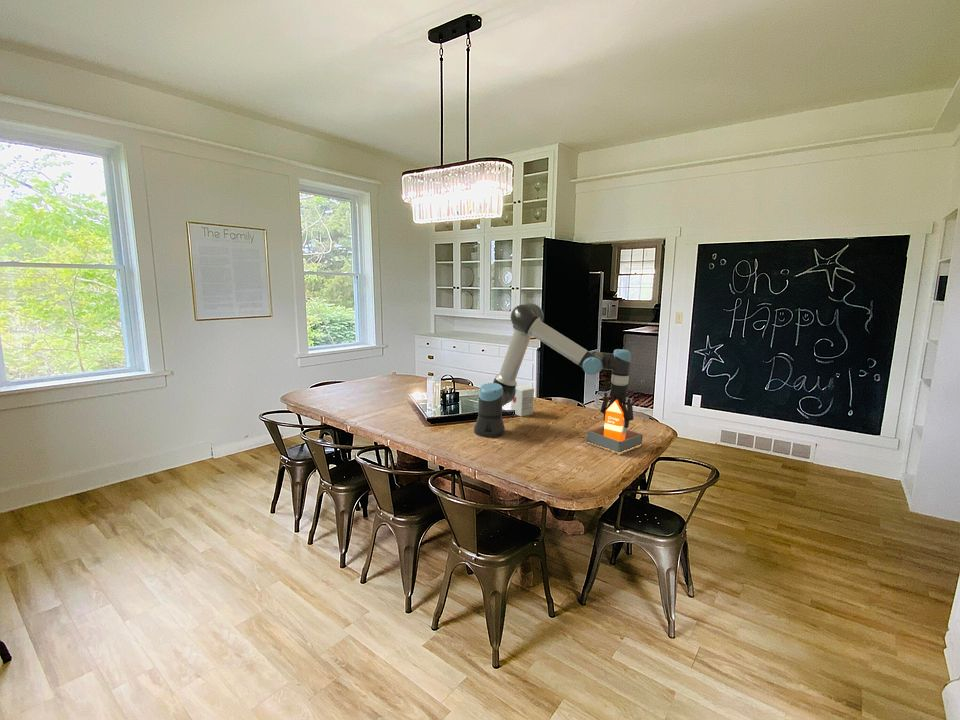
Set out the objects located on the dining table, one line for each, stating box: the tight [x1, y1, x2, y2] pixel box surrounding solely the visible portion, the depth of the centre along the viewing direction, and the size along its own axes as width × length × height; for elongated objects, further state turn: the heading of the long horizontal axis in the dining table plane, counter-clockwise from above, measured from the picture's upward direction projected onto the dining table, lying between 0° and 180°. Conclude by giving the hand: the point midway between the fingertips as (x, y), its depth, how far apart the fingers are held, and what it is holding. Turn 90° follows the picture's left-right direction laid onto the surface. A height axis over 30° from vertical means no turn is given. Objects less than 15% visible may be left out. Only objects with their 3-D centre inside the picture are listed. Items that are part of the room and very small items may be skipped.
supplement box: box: [510, 384, 535, 418], centre depth 253 cm, size 9×9×15 cm
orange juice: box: [603, 400, 627, 441], centre depth 208 cm, size 8×9×20 cm
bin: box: [586, 425, 644, 452], centre depth 210 cm, size 18×18×6 cm
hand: (614, 431), depth 209 cm, fingers closed on orange juice, 9 cm apart
